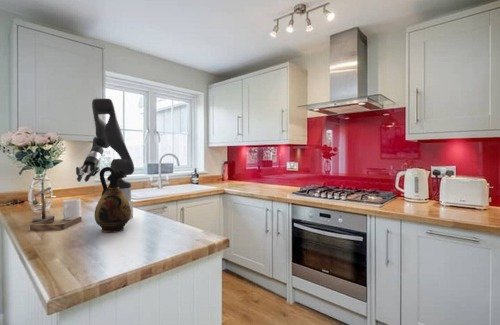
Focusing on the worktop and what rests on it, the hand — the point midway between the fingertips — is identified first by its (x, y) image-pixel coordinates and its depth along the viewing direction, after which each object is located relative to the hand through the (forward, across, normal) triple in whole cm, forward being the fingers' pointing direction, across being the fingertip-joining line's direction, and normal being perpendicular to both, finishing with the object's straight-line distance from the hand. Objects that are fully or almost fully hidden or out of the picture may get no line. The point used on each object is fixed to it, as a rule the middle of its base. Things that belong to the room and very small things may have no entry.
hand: (82, 180), depth 155 cm
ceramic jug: (+38, +32, -9) cm, 50 cm away
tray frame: (+31, +1, -3) cm, 31 cm away
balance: (+23, -14, +6) cm, 27 cm away
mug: (+23, 0, +6) cm, 24 cm away
